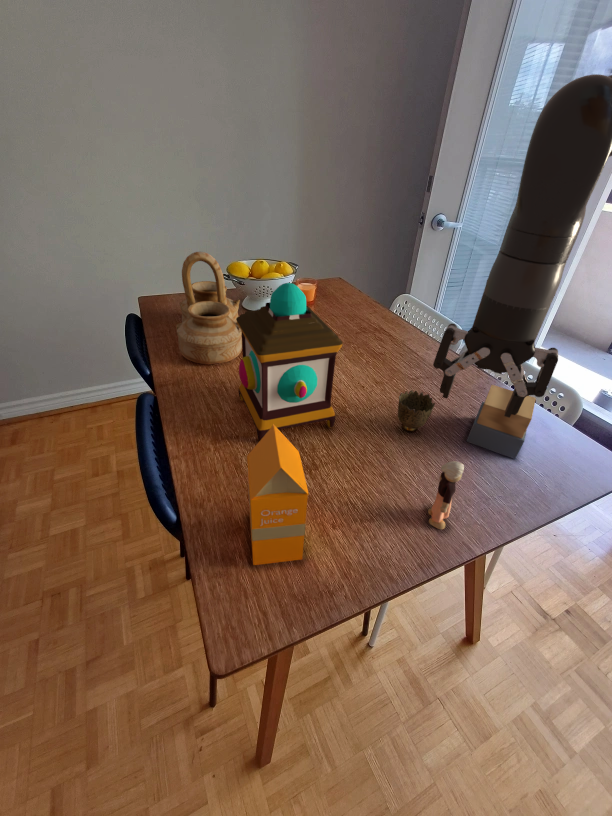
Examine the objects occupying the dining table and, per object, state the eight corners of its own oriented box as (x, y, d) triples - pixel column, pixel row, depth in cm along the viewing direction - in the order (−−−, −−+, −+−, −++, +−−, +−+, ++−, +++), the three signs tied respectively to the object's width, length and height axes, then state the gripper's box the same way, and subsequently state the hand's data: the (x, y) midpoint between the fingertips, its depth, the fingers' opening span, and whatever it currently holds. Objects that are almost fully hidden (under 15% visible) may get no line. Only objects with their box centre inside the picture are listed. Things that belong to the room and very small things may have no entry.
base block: (521, 434, 90) (529, 416, 87) (515, 459, 83) (524, 441, 80) (475, 418, 94) (482, 401, 91) (466, 441, 86) (473, 423, 83)
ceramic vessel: (249, 365, 107) (247, 272, 93) (178, 370, 103) (164, 273, 89) (238, 315, 134) (234, 237, 119) (181, 317, 130) (170, 236, 115)
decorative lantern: (254, 450, 80) (250, 308, 63) (231, 397, 95) (223, 270, 77) (343, 430, 87) (361, 297, 69) (309, 384, 102) (317, 264, 84)
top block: (526, 416, 87) (536, 397, 84) (522, 438, 80) (531, 419, 77) (484, 403, 90) (491, 384, 87) (476, 423, 84) (484, 403, 81)
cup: (429, 440, 86) (438, 410, 81) (395, 438, 86) (403, 408, 81) (421, 419, 92) (430, 390, 87) (390, 417, 92) (396, 388, 87)
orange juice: (252, 565, 60) (248, 470, 48) (248, 518, 66) (245, 424, 55) (303, 559, 61) (312, 465, 49) (295, 513, 68) (301, 421, 56)
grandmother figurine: (453, 535, 66) (476, 481, 59) (430, 533, 66) (451, 480, 59) (442, 499, 72) (462, 447, 65) (421, 498, 72) (438, 445, 65)
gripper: (451, 290, 47) (420, 402, 57) (586, 318, 42) (528, 435, 52) (462, 274, 53) (432, 378, 62) (583, 298, 48) (530, 407, 57)
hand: (475, 404), depth 57 cm, fingers open, 8 cm apart
